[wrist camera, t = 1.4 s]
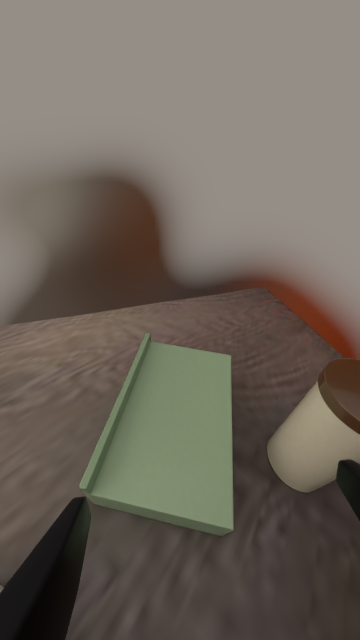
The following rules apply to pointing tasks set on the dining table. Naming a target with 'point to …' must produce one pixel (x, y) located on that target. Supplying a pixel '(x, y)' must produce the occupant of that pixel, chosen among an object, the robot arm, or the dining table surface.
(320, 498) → the dining table surface
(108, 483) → the shelf
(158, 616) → the dining table surface
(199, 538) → the dining table surface
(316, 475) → the canister
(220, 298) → the dining table surface
